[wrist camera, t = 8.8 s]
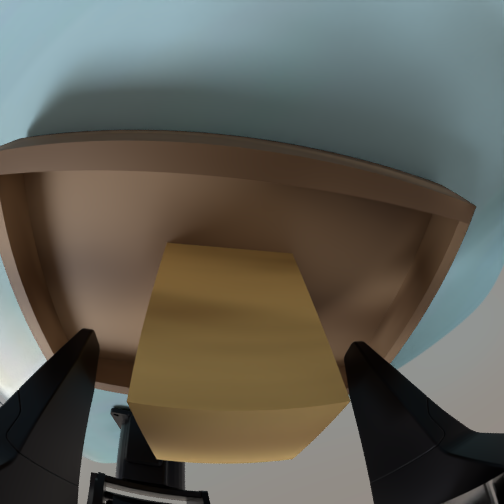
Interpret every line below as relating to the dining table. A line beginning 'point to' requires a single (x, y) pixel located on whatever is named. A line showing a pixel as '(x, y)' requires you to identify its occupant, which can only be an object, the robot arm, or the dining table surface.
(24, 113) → the dining table surface
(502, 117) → the dining table surface
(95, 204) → the walnut tray
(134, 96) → the dining table surface
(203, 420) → the ochre block
